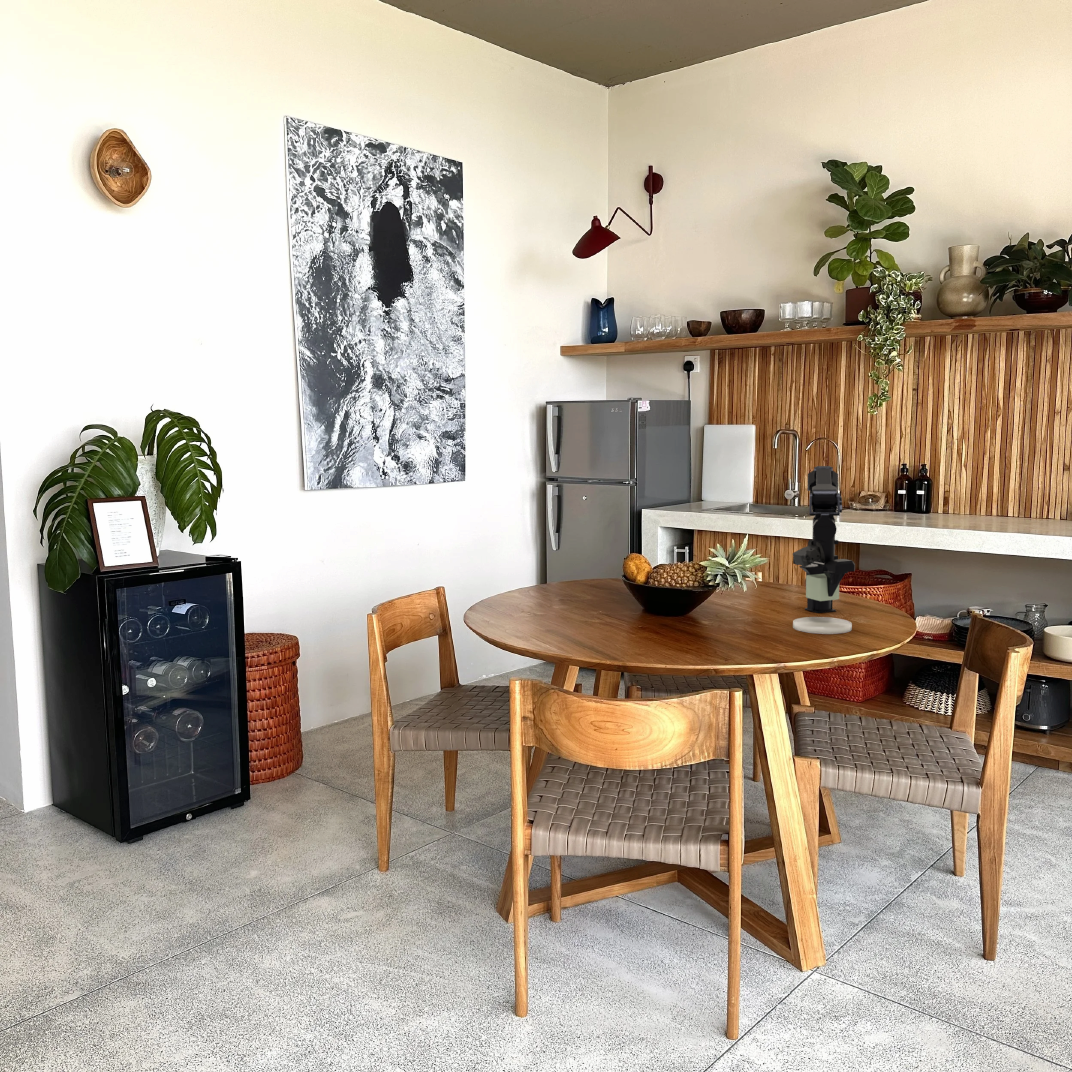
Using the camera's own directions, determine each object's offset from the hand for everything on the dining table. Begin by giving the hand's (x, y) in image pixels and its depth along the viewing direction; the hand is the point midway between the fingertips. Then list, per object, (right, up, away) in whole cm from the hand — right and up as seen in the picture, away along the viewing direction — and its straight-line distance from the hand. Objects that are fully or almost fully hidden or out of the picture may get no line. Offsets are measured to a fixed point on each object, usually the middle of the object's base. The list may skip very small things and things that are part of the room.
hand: (822, 594), depth 258 cm
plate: (0, -9, +1) cm, 9 cm away
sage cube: (0, -1, 0) cm, 1 cm away
